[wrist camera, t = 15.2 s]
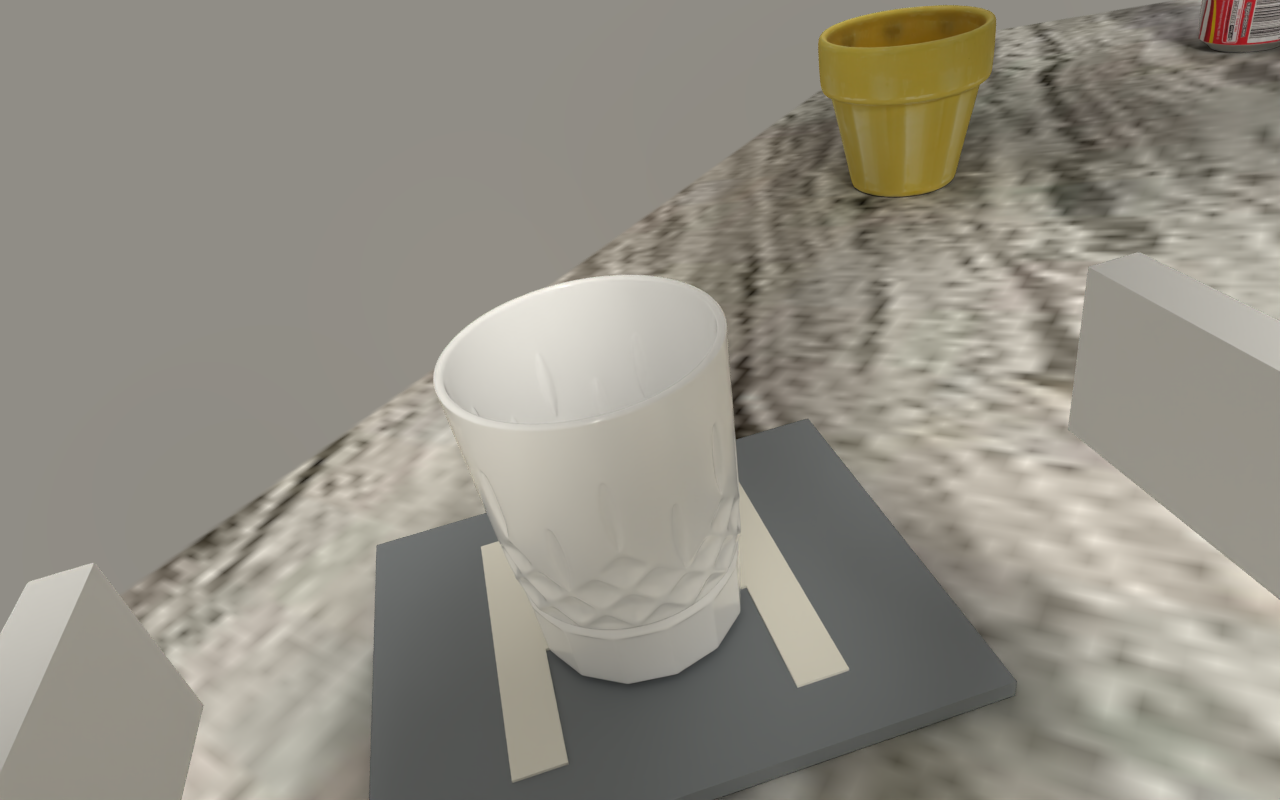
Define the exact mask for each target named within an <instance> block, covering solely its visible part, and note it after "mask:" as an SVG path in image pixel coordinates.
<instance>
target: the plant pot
mask: <svg viewBox="0 0 1280 800" xmlns="http://www.w3.org/2000/svg"><path fill="white" fill-rule="evenodd" d="M995 32H996V17H995V15H994V14H993V13H992V12H990V11H988V10H985V9H982V8H977V7H970V6H958V5H955V6H954V5H943V6H942V5H939V6H923V7H912V8H902V9H895V10H889V11H882V12H877V13H872V14H868V15H864V16H859V17H856V18H852V19H849V20H846V21H843V22H840V23H838V24H836V25H833V26H831V27H830V28H828V29H826V30H825V31H824V32H823V33H822V34H821V36H820V38H819V43H818V46H819V47H818V50H819V51H818V53H819V70H820V82H821V88H822V91H823V93H824V94H825V95H826V96H827V97H829V98H831V99H832V102H833V106H834V110H835V114H836V118H837V122H838V126H839V130H840V134H841V138H842V142H843V147H844V151H845V155H846V160H847V164H848V168H849V173H850V177H851V181H852V184H853V186H854V187H855V188H856V189H858V190H859V191H861V192H864V193H867V194H871V195H876V196H884V197H904V196H913V195H920V194H925V193H929V192H932V191H935V190H938V189H940V188H942V187H944V186H946V185H947V184H948V183H949V182H951V180H952V179H953V178H954V176H955V173H956V169H957V166H958V162H959V158H960V154H961V150H962V147H963V143H964V139H965V135H966V132H967V128H968V125H969V121H970V117H971V114H972V110H973V107H974V103H975V100H976V96H977V92H978V89H979V85H980V84H981V83H983V82H984V81H985V80H986V79H987V78H988V77H989V76H990V74H991V71H992V65H993V57H994V47H995Z"/></svg>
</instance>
